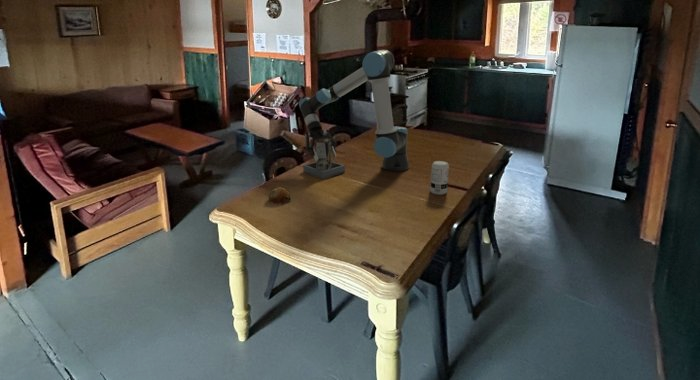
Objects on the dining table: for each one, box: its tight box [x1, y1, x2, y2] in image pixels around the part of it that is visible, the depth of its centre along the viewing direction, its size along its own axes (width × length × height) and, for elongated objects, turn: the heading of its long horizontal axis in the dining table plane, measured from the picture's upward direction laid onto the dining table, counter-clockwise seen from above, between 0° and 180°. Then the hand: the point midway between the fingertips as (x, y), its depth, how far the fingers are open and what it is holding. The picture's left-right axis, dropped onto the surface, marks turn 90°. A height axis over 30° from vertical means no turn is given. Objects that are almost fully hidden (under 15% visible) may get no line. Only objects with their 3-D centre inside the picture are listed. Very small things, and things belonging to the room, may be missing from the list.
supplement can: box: [429, 160, 450, 196], centre depth 242 cm, size 8×8×15 cm
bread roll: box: [268, 186, 292, 205], centre depth 233 cm, size 10×10×8 cm
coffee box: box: [315, 138, 332, 171], centre depth 268 cm, size 9×6×16 cm
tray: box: [302, 160, 346, 180], centre depth 271 cm, size 16×16×4 cm
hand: (326, 158), depth 266 cm, fingers closed on coffee box, 10 cm apart
